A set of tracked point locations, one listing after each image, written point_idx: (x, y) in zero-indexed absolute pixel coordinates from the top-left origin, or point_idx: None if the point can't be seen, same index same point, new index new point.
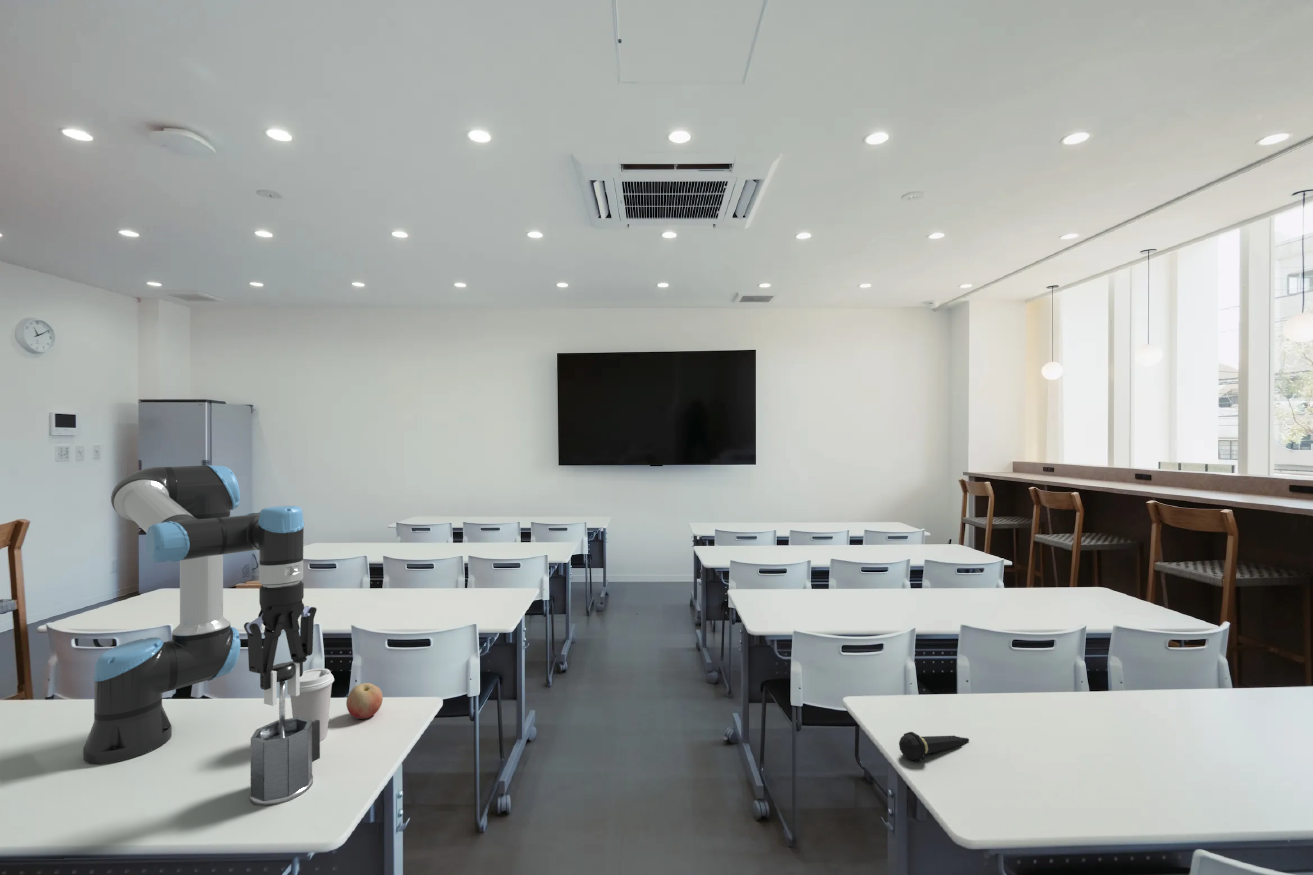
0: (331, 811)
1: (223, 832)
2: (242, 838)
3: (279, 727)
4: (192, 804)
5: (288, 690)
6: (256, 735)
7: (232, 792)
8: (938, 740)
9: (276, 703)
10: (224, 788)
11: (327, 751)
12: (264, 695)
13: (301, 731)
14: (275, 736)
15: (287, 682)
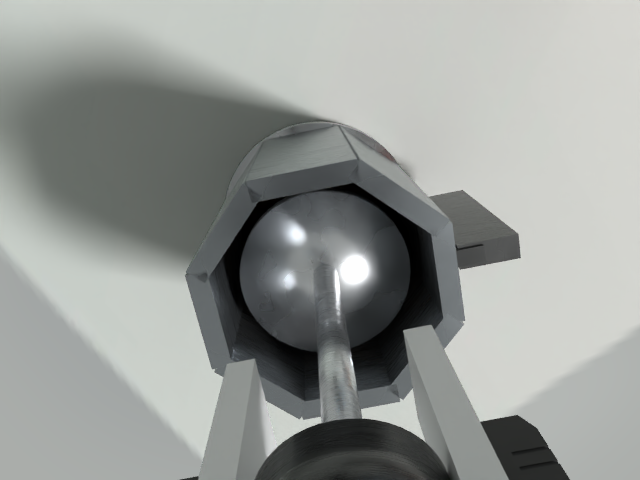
0: None
1: (120, 308)
2: (149, 377)
3: (315, 304)
4: (86, 46)
5: (410, 355)
6: (217, 260)
7: (203, 84)
8: None
9: (275, 447)
10: (192, 24)
11: (545, 79)
12: (220, 402)
13: (372, 397)
14: (327, 196)
15: (420, 380)
